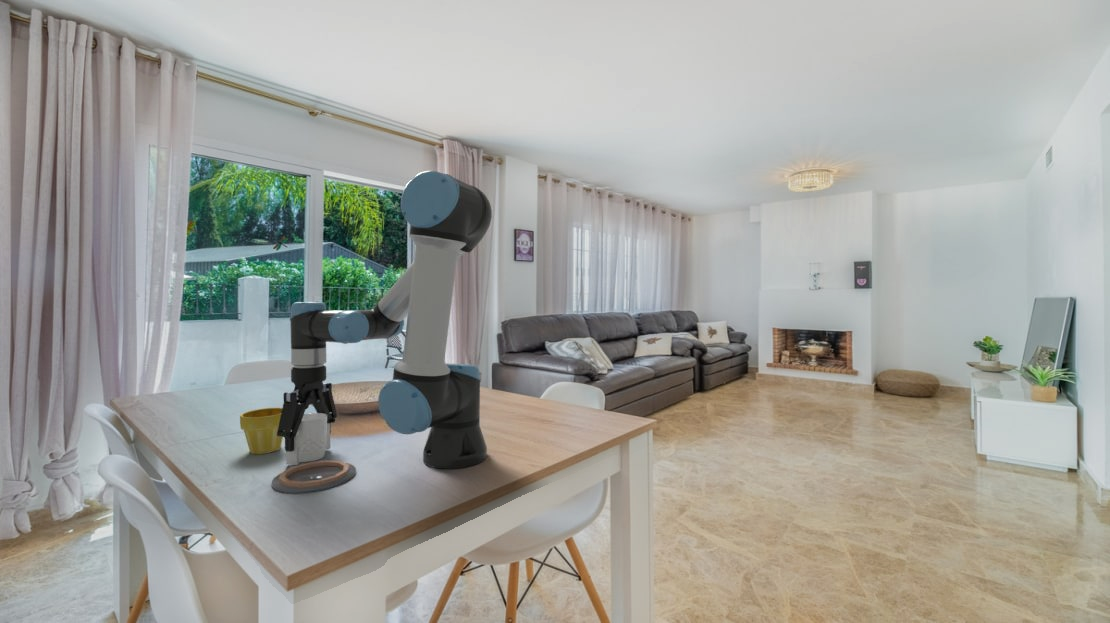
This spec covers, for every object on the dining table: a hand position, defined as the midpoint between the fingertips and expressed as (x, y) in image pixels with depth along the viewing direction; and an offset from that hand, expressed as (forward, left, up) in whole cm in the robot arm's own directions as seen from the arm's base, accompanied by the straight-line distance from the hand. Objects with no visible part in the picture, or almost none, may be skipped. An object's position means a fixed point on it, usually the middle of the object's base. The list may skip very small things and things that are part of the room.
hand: (309, 456), depth 110 cm
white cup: (0, 0, -1) cm, 1 cm away
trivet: (-10, +11, 0) cm, 15 cm away
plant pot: (+15, -3, -1) cm, 15 cm away
